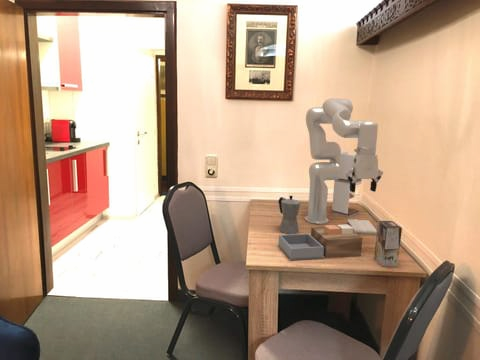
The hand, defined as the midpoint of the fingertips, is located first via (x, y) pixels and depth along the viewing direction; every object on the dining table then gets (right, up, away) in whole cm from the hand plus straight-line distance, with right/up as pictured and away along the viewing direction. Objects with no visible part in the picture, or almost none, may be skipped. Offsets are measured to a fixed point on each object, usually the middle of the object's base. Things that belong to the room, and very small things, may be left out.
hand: (362, 191), depth 165 cm
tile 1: (-13, -18, 0) cm, 22 cm away
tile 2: (-7, -18, +1) cm, 19 cm away
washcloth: (+9, -21, +32) cm, 39 cm away
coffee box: (+6, -29, -9) cm, 31 cm away
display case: (+8, -15, +57) cm, 59 cm away
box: (-27, -26, -1) cm, 37 cm away
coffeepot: (-29, -20, +25) cm, 44 cm away
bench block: (-11, -25, +2) cm, 28 cm away
